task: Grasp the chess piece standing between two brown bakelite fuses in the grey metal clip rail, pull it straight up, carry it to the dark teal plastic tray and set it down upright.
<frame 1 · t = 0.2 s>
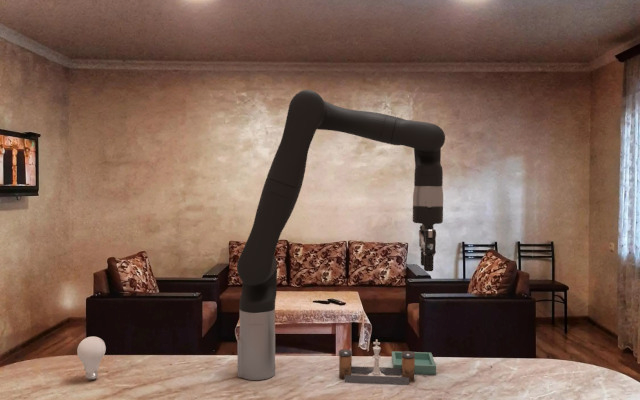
hand: (426, 268, 132), 28 cm above the table, fingers open, 8 cm apart
light bulb: (91, 380, 132), on the table
chess piece: (376, 379, 133), resting in clip rail
clip rail: (376, 378, 133), on the table
tray: (413, 367, 142), on the table
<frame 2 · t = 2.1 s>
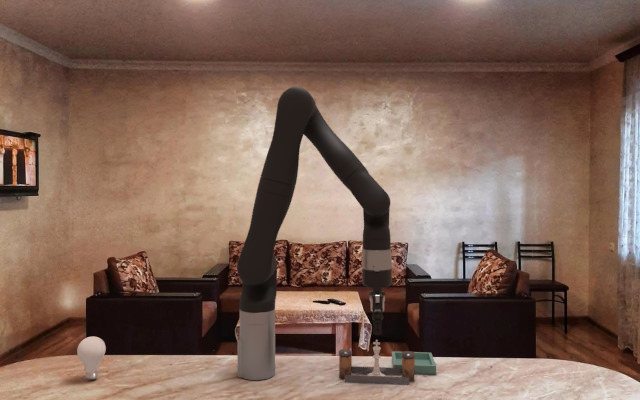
hand: (377, 329, 133), 13 cm above the table, fingers open, 8 cm apart
nothing on the table moved.
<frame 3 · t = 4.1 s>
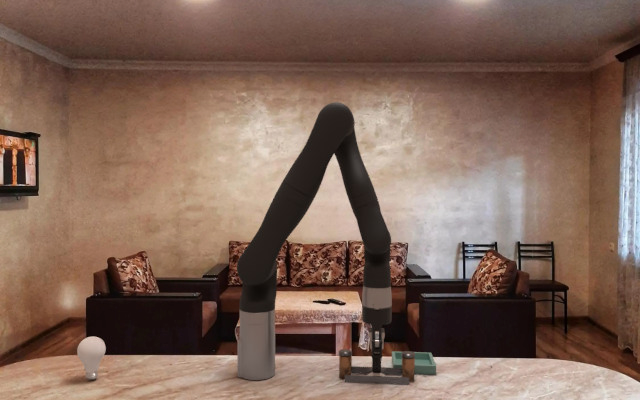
hand: (376, 370, 133), 2 cm above the table, fingers closed on chess piece
chess piece: (376, 379, 133), resting in clip rail, touching gripper
everything else where it was.
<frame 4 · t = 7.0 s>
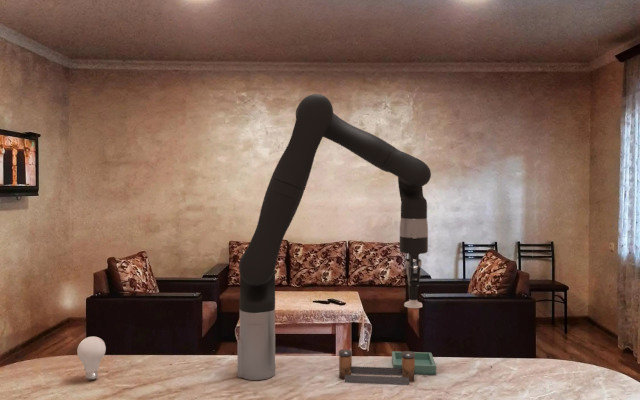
hand: (413, 298, 141), 19 cm above the table, fingers closed on chess piece
chess piece: (413, 306, 141), point 17 cm above the table, touching gripper
everything else where it was.
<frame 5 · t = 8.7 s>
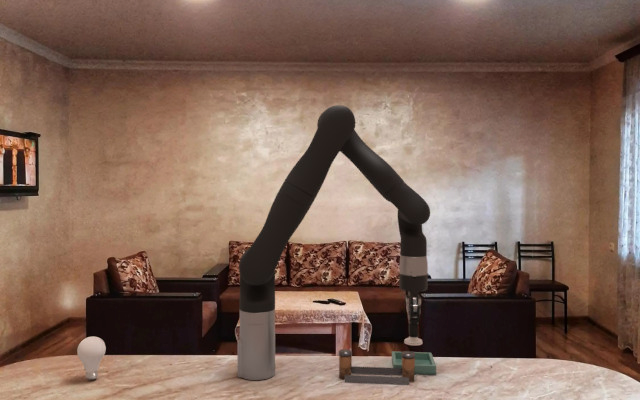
hand: (413, 335, 142), 9 cm above the table, fingers closed on chess piece
chess piece: (413, 343, 142), point 6 cm above the table, touching gripper
everything else where it was.
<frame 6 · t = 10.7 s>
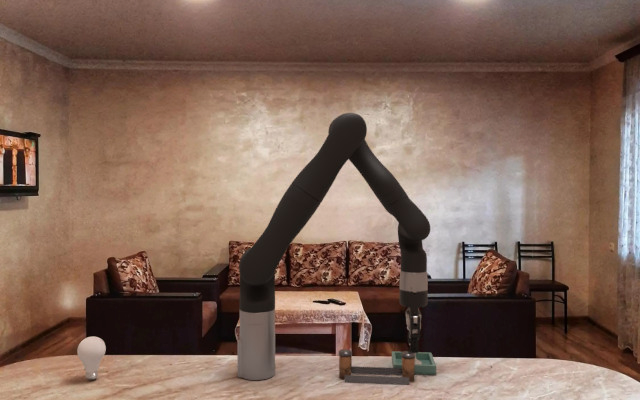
hand: (413, 347, 142), 5 cm above the table, fingers open, 7 cm apart
chess piece: (412, 365, 142), resting on tray
everything else where it was.
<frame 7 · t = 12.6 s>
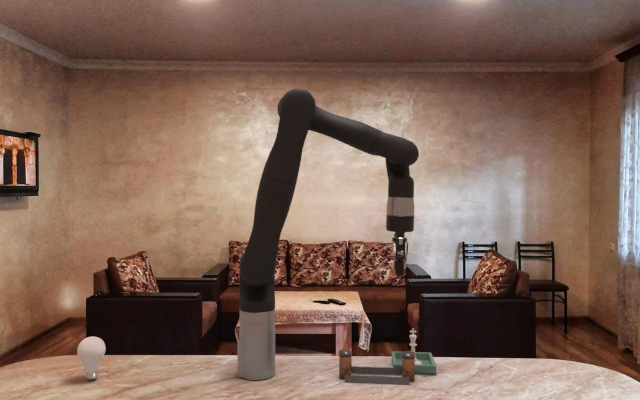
hand: (398, 272, 143), 25 cm above the table, fingers open, 8 cm apart
nothing on the table moved.
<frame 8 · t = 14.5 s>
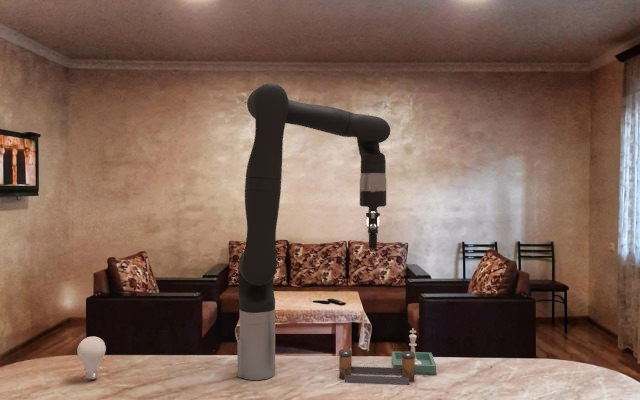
hand: (372, 246, 148), 32 cm above the table, fingers open, 8 cm apart
nothing on the table moved.
at the end: chess piece inside the target area on the tray (0.1 cm from its centre), point 0.4 cm above the tray's base; chess piece tilted 0°; the gripper is holding nothing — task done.
